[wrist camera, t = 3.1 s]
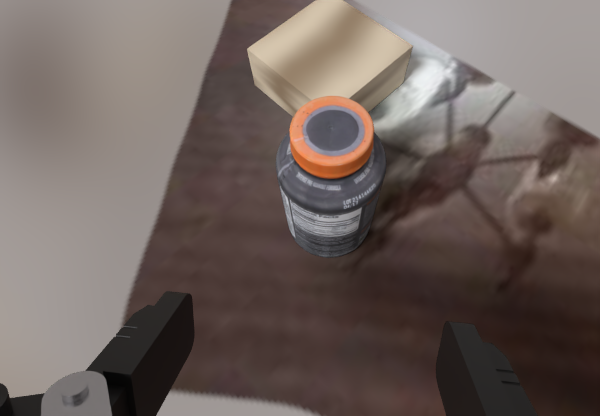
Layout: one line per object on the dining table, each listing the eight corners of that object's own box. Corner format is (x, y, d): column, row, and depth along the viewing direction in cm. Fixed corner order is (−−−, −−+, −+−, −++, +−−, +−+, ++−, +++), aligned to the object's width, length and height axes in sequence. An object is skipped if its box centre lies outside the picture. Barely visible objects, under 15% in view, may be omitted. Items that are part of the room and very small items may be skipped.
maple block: (402, 83, 33) (412, 45, 30) (328, 146, 31) (329, 114, 27) (327, 30, 36) (328, -9, 33) (255, 85, 34) (247, 49, 30)
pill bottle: (327, 170, 30) (331, 58, 20) (386, 219, 28) (424, 124, 18) (271, 220, 29) (243, 128, 18) (329, 277, 27) (334, 208, 16)
